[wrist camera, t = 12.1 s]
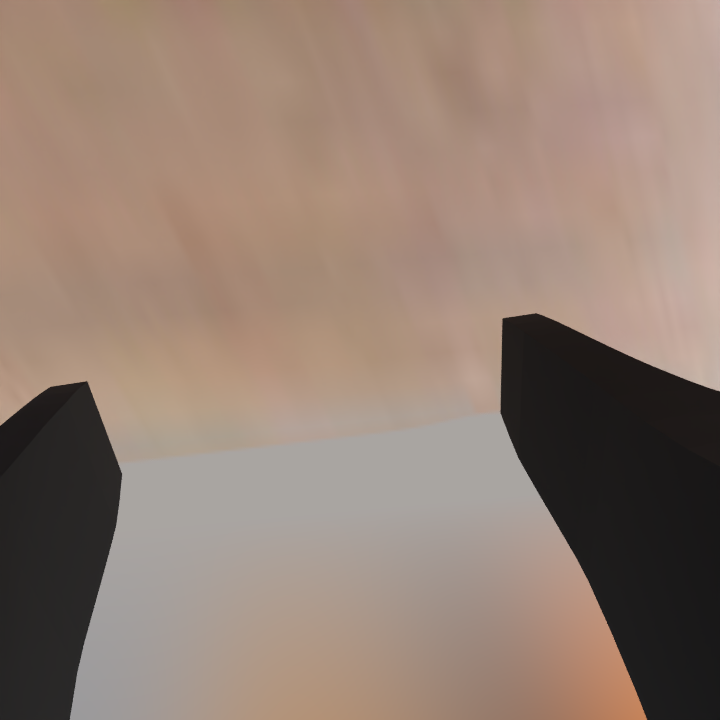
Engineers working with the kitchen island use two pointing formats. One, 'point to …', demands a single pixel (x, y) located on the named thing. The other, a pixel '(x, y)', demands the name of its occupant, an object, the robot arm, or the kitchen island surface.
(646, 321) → the kitchen island surface
